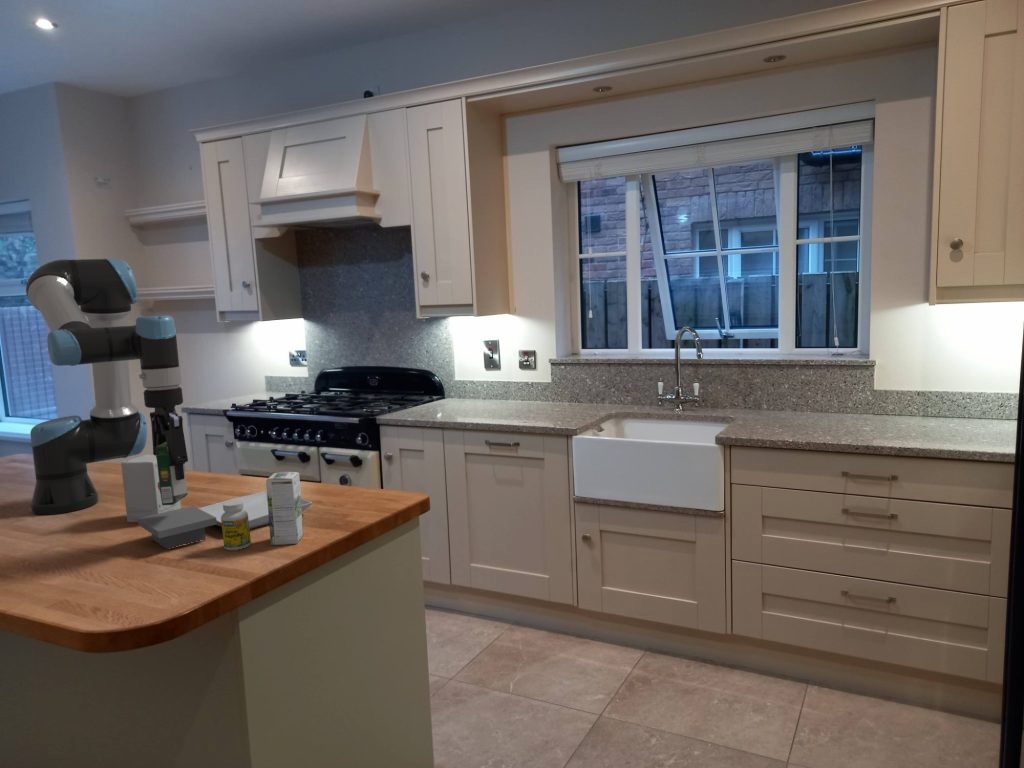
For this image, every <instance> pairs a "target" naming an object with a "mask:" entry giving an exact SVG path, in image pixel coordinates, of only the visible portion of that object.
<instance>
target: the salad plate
mask: <svg viewBox="0 0 1024 768" xmlns="http://www.w3.org/2000/svg"><path fill="white" fill-rule="evenodd" d="M236 500H240V501H243V505H244V508H243V510H245V511H246V512H247V513H248V520H249V529H250V530H251V529H256V528H259V527H262V526H266V525H269V515H268V501H267V490H265V491H260V492H257V493H256V492H255V493H252V494H247V495H243V496H239V497H235V498H231V499H227V500H224V501H220V502H217V503H212V504H210V505H206V506H202V507H198V508H199V509H200V510H202V511H204V512H206V513H208V514H210V515H212V516H214V517H216V521H217V524H216V526H218V527H221V528H222V523H221V516H222V514H223V513H225V511H224V510H223V504H224V503H226V502H229V501H236ZM312 504H313V502H312V501H310V500H307V499H303V498H301V506H302V513H303V512H304V511H306V510H308V509H309V508H310V507H311V505H312Z"/></svg>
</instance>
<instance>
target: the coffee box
mask: <svg viewBox="0 0 1024 768" xmlns="http://www.w3.org/2000/svg"><path fill="white" fill-rule="evenodd" d="M155 449H156V458H157V466H158V475H159V484H160V492H161V500H162V505H174V504H175V503H177V502H178V501H179V500H180V501H181V500H182V499H184V498H186V496H188V492H187V493H185V494H180V495H176V496H174V495H173V488H172V479H171V470H170V466H168V464H169V463H171V459H170V455H169V447H168V446H167V442H164V443H162V444H161V445H158V446H157V447H155ZM178 458H180V457H178Z"/></svg>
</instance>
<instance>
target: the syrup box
mask: <svg viewBox="0 0 1024 768" xmlns="http://www.w3.org/2000/svg"><path fill="white" fill-rule="evenodd" d="M300 481H301V480H300V473H299V472H297V471H296V472H295V471H281V472H275V473H272V475H270V476H269V477H268V478H267V479H266V480H265V482H266V483H265V484H266V491H267V501H268V515H269V524H268V526H269V537H270V538H269V539H270V540H269V541H270V546H281V545H293V544H296V545H297V544H298V543H299V542H300V540H301V539H302V537H303V536H304V525H303V524H304V523H303V512H302V506H301V499H302V496H301V482H300Z"/></svg>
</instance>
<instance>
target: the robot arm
mask: <svg viewBox="0 0 1024 768" xmlns="http://www.w3.org/2000/svg"><path fill="white" fill-rule="evenodd" d="M134 275H135V274H134V273H133V271H132V268H131V267H130V265H129V264H128V263H127V261H125V260H122V259H115V258H114V259H112V258H91V259H89V258H87V259H85V258H84V259H83V258H82V259H57V260H53V261H50V262H47V263H45V264H42V265H41V266H40V267H38V268H36V270H34V271H33V272H32V273H31V275H30V276H29V278H28V279H27V281H26V285H25V293H26V297H27V299H28V301H29V303H30V304H31V305H32V306H33V308H34V309H36V310H37V311H39V312H40V313H41V316H42V318H43V320H44V322H45V323H46V325H47V327H48V329H49V330H50V332H48V334H47V338H46V339H47V350H48V355H49V358H50V362H51V363H52V364H53V365H55V366H56V367H57V366H59V367H60V366H61V367H63V366H71V367H74V366H78V365H90V364H91V367H92V378H93V390H94V402H95V406H94V407H93V408H92V409H91V410H90V411H89V419H83V420H82V418H81V416H80V415H68V416H62V417H57V418H54V419H49V420H45V421H43V422H40V423H38V424H36V425H35V426H32V428H31V430H30V433H29V434H30V447H31V451H32V457H33V458H32V459H33V466H34V474H35V486H34V491H33V495H32V499H31V503H30V505H31V506H30V507H31V512H32V513H33V514H34V515H55V514H56V515H57V514H65V513H69V512H70V513H71V512H76V511H79V510H82V509H85V508H86V509H87V508H89V507H92V506H94V505H95V504H97V503H99V493H98V492H97V491H98V490H97V489H96V487H95V486H94V485H95V484H94V483H93V482H92V480H91V478H90V476H89V473H88V465H87V464H90V463H91V464H92V463H97V462H98V463H99V462H104V461H110V460H116V459H126V458H128V457H132V456H136V455H137V456H138V455H140V454H141V453H142V452H144V449H145V448H146V445H147V440H148V439H147V438H148V427H147V426H148V425H147V419H146V416H145V415H144V413H142V412H139V407H137V406H136V405H135V404H134V403H133V402H132V393H131V380H130V376H131V375H130V363H129V361H134V360H139V363H140V370H141V374H139V375H138V378H139V379H140V380H142V381H141V382H142V387H143V388H145V390H143V399H144V406H145V407H146V408H149V409H154V411H152V412H150V413H149V418H150V425H151V436H152V437H151V438H152V439H151V440H152V455H154V456H156V449H155V447H157V446H158V445H161V444H162V443H164V442H167V446H168V447H169V455H170V459H171V463H169V464H168V466H170V470H171V479H172V488H173V495H174V496H176V495H180V494H185V493H187V494H188V486H187V475H186V469H185V468H186V467H185V464H186V463H187V462H189V458H188V452H187V445H186V439H185V433H184V432H185V431H184V427H183V425H184V424H183V422H184V421H183V420H184V419H183V417H182V415H179V414H178V413H177V411H176V406H180V405H182V404H183V403H184V397H183V388H181V386H180V385H181V384H182V376H181V375H182V374H181V366H180V361H179V350H178V344H177V343H178V342H177V341H178V340H177V329H176V325H175V324H176V323H175V319H174V317H173V316H171V315H168V314H167V315H151V316H150V315H149V316H147V315H146V316H139V317H136V319H135V324H134V325H127V324H126V317H127V316H128V315H129V314H130V313H131V312H132V306H131V305H134V304H136V303H137V302H138V300H139V299H138V296H139V293H138V292H139V291H138V286H137V282H136V278H135V276H134ZM178 457H180V458H178Z"/></svg>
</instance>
